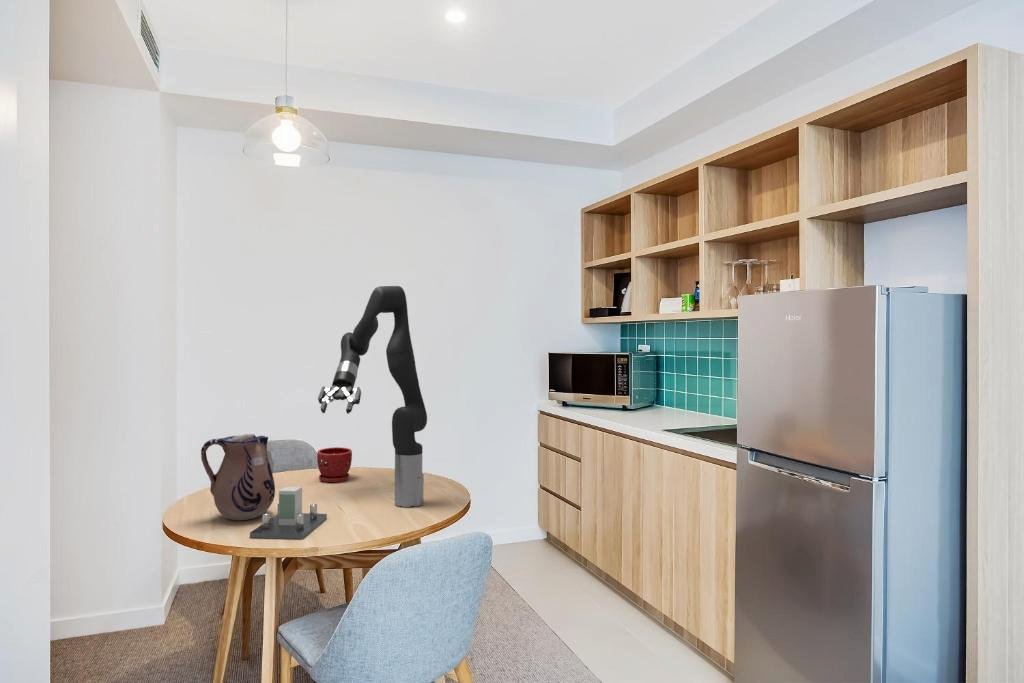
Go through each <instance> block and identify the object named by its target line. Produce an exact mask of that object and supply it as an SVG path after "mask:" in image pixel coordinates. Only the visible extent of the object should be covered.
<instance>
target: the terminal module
mask: <svg viewBox="0 0 1024 683" xmlns="http://www.w3.org/2000/svg"><path fill="white" fill-rule="evenodd" d="M278 504H279V525H297V514H302V513H303V486H285V487H283V488H281V489H279V490H278Z"/></svg>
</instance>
